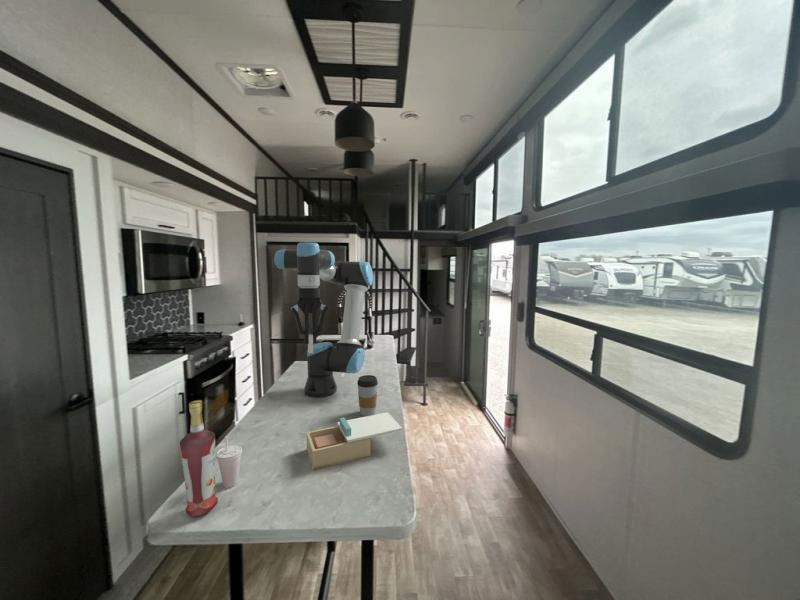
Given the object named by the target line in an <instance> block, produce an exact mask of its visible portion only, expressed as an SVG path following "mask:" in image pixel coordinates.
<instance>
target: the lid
mask: <svg viewBox="0 0 800 600" xmlns="http://www.w3.org/2000/svg"><path fill="white" fill-rule="evenodd" d="M337 426H339V428H340V430H341V432H342V433H343V435H344V437H345V439H346V441H347V443H349V442H353V441H358V440H362V439H367V438H370V439H371V438H375V437H379V436H384V435H388V434H392V433H397V432H400V431H403V427H402V426H401V425H400V424H399V423H398V421H396V419H395V418H394V417H392V415H391V414H390V413H389V412H388V411H387V412H382V413H378V414H376V413H375V414H374V415H371V416H366V417H365V416H362V417H361V416H360V417H358V418H352V419H346V417H340V418H339V421H337Z"/></svg>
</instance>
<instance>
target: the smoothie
mask: <svg viewBox="0 0 800 600" xmlns="http://www.w3.org/2000/svg"><path fill="white" fill-rule="evenodd" d="M228 439H229V438H228V435H225V436H224V441H225V446H224V447H222V448H220V449H219V450H218V451H217V452H215V460H217V461H218V466H219V471H220V472H219V473H220V475H221V480H222V484H223V485H222V486H223V487H224V488H225V489H231V488H234V487H236V486H237V485H238V484H239V478H240V476H239V475H240V467H241V457H242V456H241V455H242V453H243V448H242V446H241V445H238V444H230V445H229V441H228Z"/></svg>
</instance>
